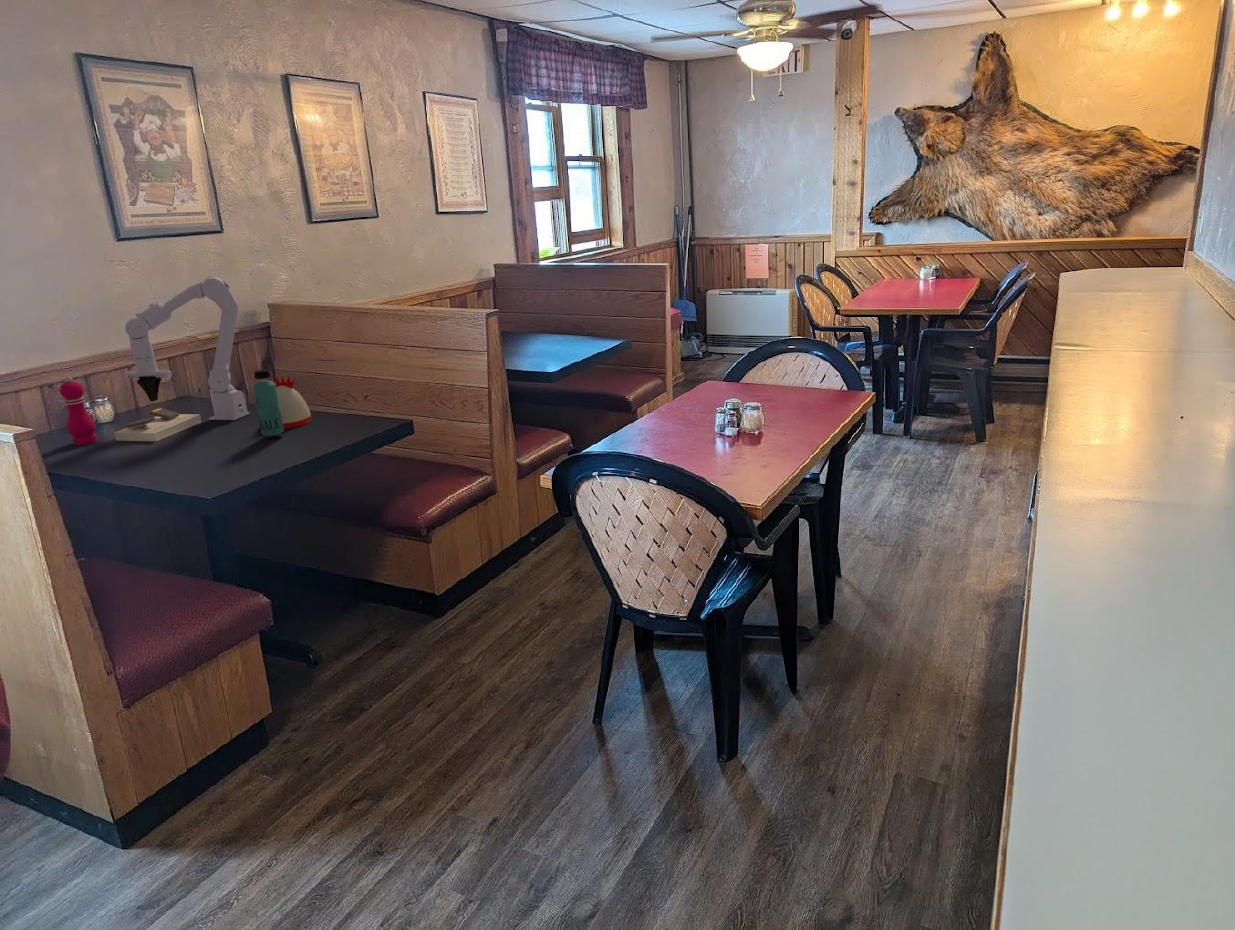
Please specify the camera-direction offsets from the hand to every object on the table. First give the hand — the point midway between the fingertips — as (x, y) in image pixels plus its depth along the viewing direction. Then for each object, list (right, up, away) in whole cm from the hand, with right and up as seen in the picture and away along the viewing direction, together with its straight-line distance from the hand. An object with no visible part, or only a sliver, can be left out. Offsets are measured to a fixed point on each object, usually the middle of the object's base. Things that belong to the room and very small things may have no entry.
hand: (154, 400), depth 264 cm
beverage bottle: (+44, -12, -16) cm, 48 cm away
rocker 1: (+1, -7, -8) cm, 11 cm away
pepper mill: (-15, -13, -10) cm, 22 cm away
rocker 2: (+3, -4, +1) cm, 5 cm away
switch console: (+3, -10, -3) cm, 11 cm away
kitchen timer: (+42, -7, -1) cm, 42 cm away
